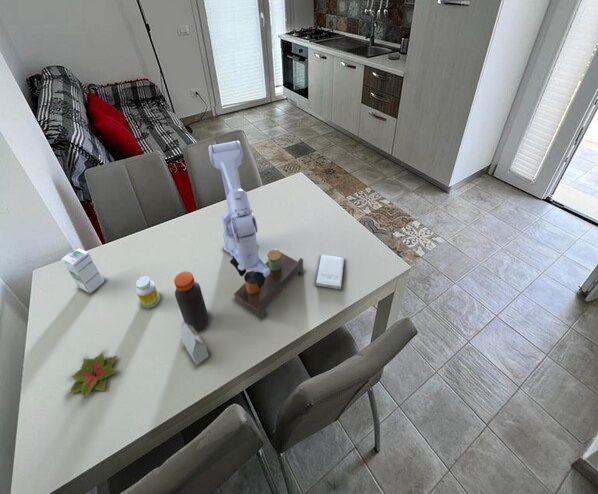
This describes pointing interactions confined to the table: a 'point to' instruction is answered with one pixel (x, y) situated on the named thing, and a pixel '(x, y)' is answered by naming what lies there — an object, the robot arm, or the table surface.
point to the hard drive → (330, 272)
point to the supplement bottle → (147, 292)
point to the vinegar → (191, 301)
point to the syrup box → (83, 270)
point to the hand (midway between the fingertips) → (252, 279)
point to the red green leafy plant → (93, 374)
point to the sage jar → (274, 260)
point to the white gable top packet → (194, 343)
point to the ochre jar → (251, 282)
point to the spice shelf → (270, 286)
